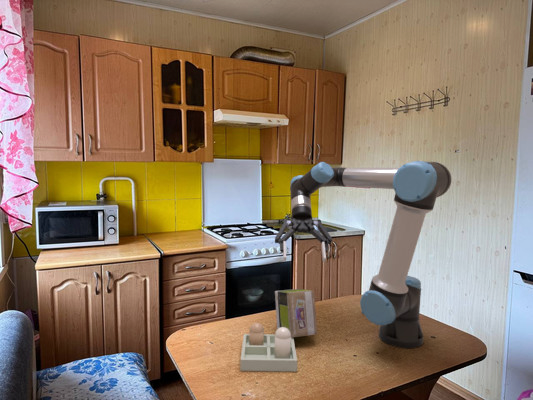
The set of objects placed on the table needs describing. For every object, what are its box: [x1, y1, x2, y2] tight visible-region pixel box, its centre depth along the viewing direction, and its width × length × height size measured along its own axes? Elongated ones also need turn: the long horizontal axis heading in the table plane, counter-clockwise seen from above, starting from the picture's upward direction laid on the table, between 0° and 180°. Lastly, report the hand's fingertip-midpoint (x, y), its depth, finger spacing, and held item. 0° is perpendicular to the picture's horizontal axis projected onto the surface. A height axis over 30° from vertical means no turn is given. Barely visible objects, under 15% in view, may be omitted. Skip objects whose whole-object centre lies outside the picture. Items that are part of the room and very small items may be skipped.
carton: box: [240, 322, 298, 373], centre depth 120 cm, size 17×17×9 cm
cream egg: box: [274, 327, 291, 359], centre depth 116 cm, size 5×5×10 cm
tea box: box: [274, 288, 318, 338], centre depth 135 cm, size 15×10×15 cm
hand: (304, 259), depth 127 cm, fingers open, 13 cm apart
